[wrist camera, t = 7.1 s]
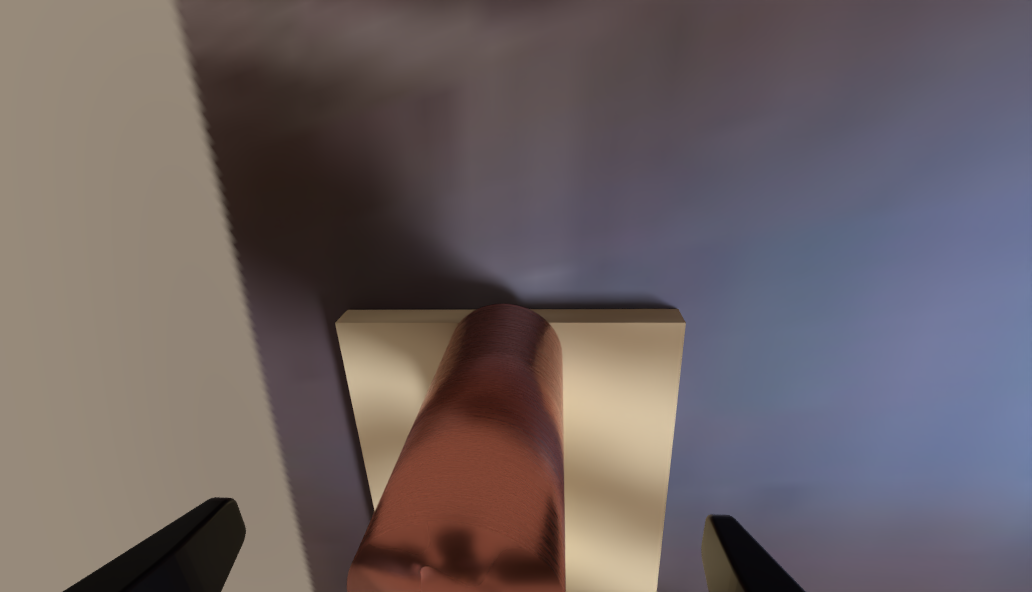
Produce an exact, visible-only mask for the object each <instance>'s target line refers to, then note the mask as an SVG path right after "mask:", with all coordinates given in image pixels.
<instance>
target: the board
mask: <svg viewBox="0 0 1032 592" xmlns="http://www.w3.org/2000/svg"><path fill="white" fill-rule="evenodd" d="M476 310H477V309H476ZM530 310H532V311H534V312H535V313H537V314H539V315H540V316H541V317H543V318H544V319H545V320H546V321H547V322H548V323H549V324H550V325H551V326H552V328H553V329H554V330H555V332H556V334H557V335H558V338H559V340H560V343H561V347H562V356H563V426H564V497H565V568H566V592H656V591H657V582H658V572H659V563H660V554H661V545H662V536H663V527H664V517H665V508H666V499H667V490H668V481H669V471H670V462H671V453H672V444H673V435H674V425H675V416H676V407H677V398H678V389H679V379H680V370H681V361H682V352H683V343H684V334H685V324H686V322H685V321H684V319H683V317H682V315H681V313H680V312H679V310H678V309H530ZM473 311H475V310H347V311H346V312H345V313H344V314H343V315H342V316H341V317H340V318H339V319H338V320H337V321H336V322H335V325H336V330H337V334H338V339H339V344H340V349H341V353H342V358H343V363H344V368H345V372H346V377H347V382H348V387H349V391H350V396H351V401H352V406H353V410H354V415H355V420H356V425H357V430H358V434H359V439H360V444H361V449H362V453H363V458H364V463H365V468H366V472H367V477H368V482H369V487H370V491H371V496H372V501H373V506H374V510H376V508H377V505H378V503H379V501H380V499H381V496H382V494H383V492H384V489H385V487H386V485H387V483H388V480H389V478H390V476H391V473H392V471H393V469H394V467H395V464H396V462H397V460H398V458H399V455H400V453H401V451H402V448H403V446H404V444H405V442H406V439H407V437H408V435H409V432H410V430H411V428H412V426H413V423H414V421H415V419H416V417H417V414H418V412H419V410H420V407H421V405H422V403H423V401H424V398H425V396H426V394H427V391H428V389H429V387H430V385H431V382H432V380H433V378H434V375H435V373H436V371H437V369H438V366H439V364H440V362H441V360H442V357H443V355H444V353H445V350H446V348H447V346H448V344H449V341H450V339H451V337H452V334H453V332H454V330H455V328H456V327H457V325H458V324H459V323H460V322H461V320H462V319H463V318H465V317H466V316H467V315H468V314H470V313H471V312H473Z"/></svg>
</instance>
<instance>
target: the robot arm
mask: <svg viewBox="0 0 1032 592" xmlns="http://www.w3.org/2000/svg"><path fill="white" fill-rule="evenodd" d="M245 534H246V528H245V525H244V522H243V519H242V516H241V513H240V511H239V508H238V505H237V503H236V501H235V500H234V499H232V498H219V497H218V498H216V497H215V498H211V499H209V500H207V501H205V502H204V503H202V504H201V505H199V506H198V507H196V508H194V509H193V510H191V511H189V512H188V513H186V514H185V515H183V516H182V517H180V518H178V519H177V520H175V521H174V522H172V523H171V524H169V525H167V526H166V527H164V528H163V529H161V530H159V531H158V532H157V533H155V534H153V535H152V536H150V537H148V538H147V539H145V540H144V541H142V542H140V543H139V544H138V545H136V546H134V547H133V548H131V549H129V550H128V551H126V552H125V553H123V554H122V555H120V556H118V557H117V558H115V559H114V560H112V561H110V562H109V563H107V564H106V565H104V566H103V567H101V568H99V569H98V570H96V571H95V572H93V573H92V574H90V575H88V576H87V577H85V578H84V579H82V580H80V581H79V582H77V583H76V584H74V585H73V586H71V587H69V588H68V589H66V590H65V591H63V592H221V591H222V588H223V586H224V584H225V582H226V579H227V577H228V575H229V573H230V571H231V568H232V566H233V564H234V562H235V560H236V557H237V555H238V553H239V551H240V549H241V546H242V544H243V542H244V538H245ZM701 551H702V561H703V566H704V571H705V575H706V580H707V585H708V590H709V592H805V591H804V590H803V589H802V588H801V587H800V585H799V584H798V583H797V582H796V581H795V580H794V579H793V578H792V577H791V576H790V575H789V574H788V573H787V572H786V571H785V570H784V569H783V568H782V567H781V566H780V565H779V564H778V563H777V562H776V561H775V560H774V559H773V558H772V557H771V556H770V554H769V553H768V552H767V551H766V550H765V549H764V548H763V547H762V546H761V545H760V544H759V543H758V542H757V541H756V540H755V539H754V538H753V537H752V536H751V535H750V534H749V533H748V532H747V531H746V530H745V529H744V528H743V527H742V526H741V525H740V524H739V522H738V521H737V520H736V519H735V518H733V517H732V516H730V515H713V514H711V515H708V516H707V518H706V521H705V528H704V534H703V540H702V549H701Z"/></svg>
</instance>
